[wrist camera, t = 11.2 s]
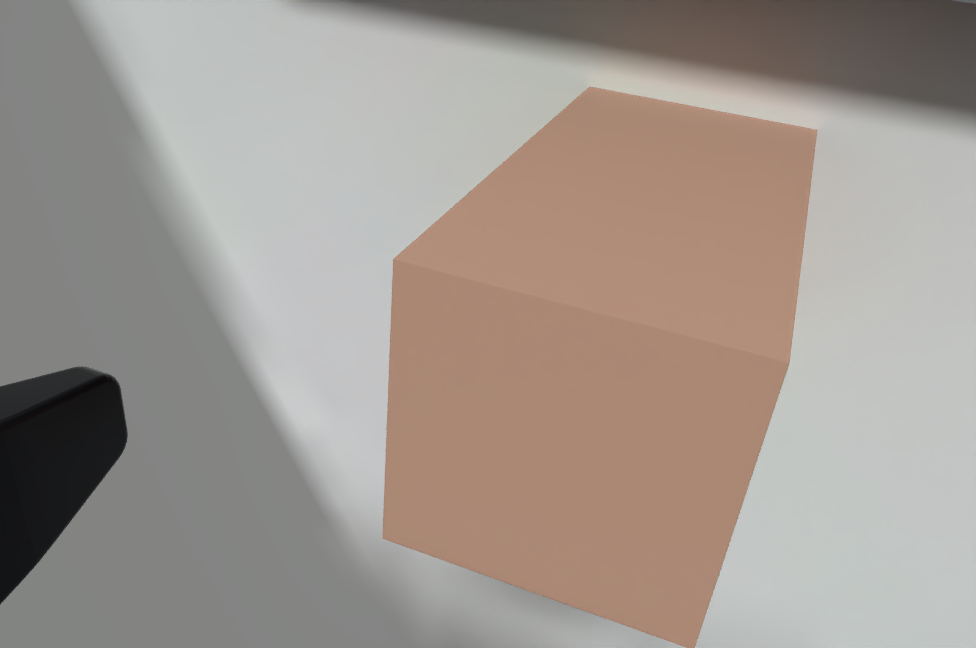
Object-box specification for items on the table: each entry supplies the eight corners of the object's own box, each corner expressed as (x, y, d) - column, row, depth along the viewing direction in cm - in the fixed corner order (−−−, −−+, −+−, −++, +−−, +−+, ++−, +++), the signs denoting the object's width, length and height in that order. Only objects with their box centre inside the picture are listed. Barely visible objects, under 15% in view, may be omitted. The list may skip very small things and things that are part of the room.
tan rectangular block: (817, 129, 14) (789, 362, 8) (756, 330, 16) (693, 650, 10) (589, 86, 15) (393, 260, 9) (559, 280, 17) (382, 538, 11)
